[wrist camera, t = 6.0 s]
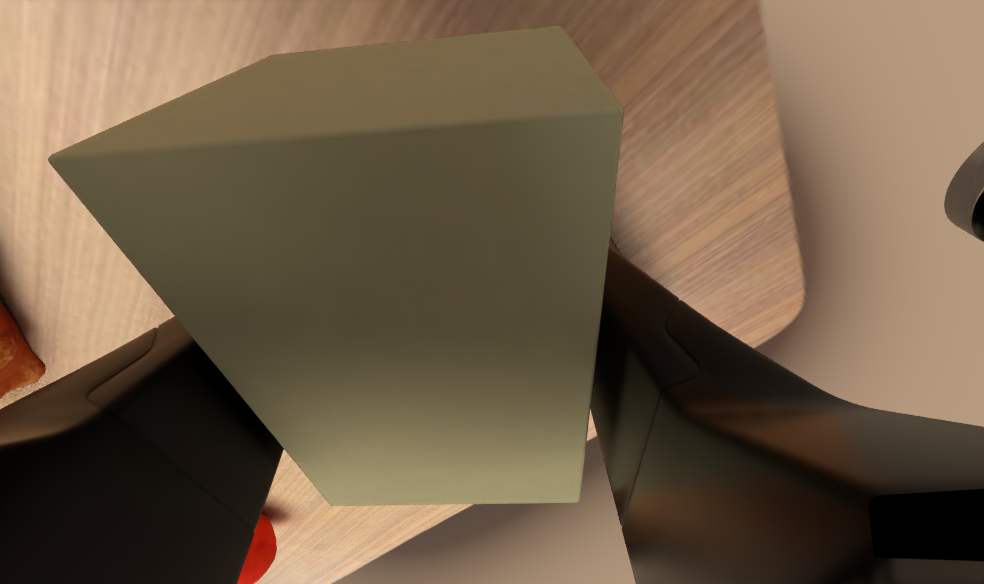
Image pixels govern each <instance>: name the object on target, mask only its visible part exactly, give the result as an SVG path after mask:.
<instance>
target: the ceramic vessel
mask: <svg viewBox="0 0 984 584" xmlns="http://www.w3.org/2000/svg"><path fill="white" fill-rule="evenodd" d="M44 373H45V366H44V365H43V364H42V362H41V361H40V360H39V359H38V358H37V357H36V355H35V354H34V353H33V352H32V351H31V349H30V347H29V346H28V344H27V342H26V341H25V339H24V337H23V336H22V333H21V330H20V327H19V326H18V324H17V322H16V320H15V319H14V317H13V316H12V314H11V312H10V311H9V309H8V307H7V305H6V304H5V302H4V300H3V298H2V296H1V294H0V399H1V398H2V397H3V396H4V394H5V393H7V392H10V391H12V390H14V389H16V388H19V387H24V386H26V385H29V384H32V383H35V382H37V381H38V380H39V379H40V378H41V376H42V375H43V374H44Z"/></svg>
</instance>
